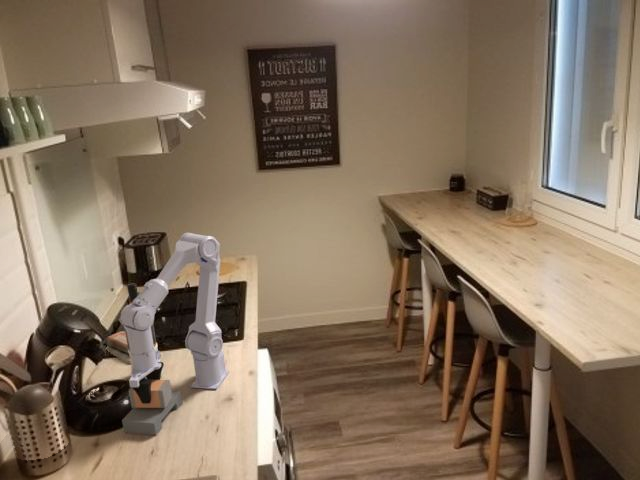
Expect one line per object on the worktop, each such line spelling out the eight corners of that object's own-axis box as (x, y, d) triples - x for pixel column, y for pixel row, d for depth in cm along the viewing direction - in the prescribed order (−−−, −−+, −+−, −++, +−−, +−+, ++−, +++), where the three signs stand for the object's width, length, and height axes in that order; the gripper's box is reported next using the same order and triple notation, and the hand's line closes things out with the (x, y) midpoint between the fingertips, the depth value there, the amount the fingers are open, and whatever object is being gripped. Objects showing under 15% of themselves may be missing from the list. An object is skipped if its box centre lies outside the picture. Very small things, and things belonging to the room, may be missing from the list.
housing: (131, 407, 135) (128, 390, 133) (139, 396, 139) (136, 379, 138) (165, 407, 134) (162, 390, 132) (172, 396, 138) (169, 379, 137)
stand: (153, 400, 145) (151, 389, 144) (182, 402, 143) (180, 391, 142) (124, 432, 132) (121, 420, 131) (156, 435, 130) (154, 423, 129)
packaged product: (99, 338, 175) (126, 326, 182) (102, 351, 176) (128, 339, 184) (129, 352, 164) (156, 339, 171) (131, 366, 165) (158, 353, 172)
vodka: (165, 380, 155) (149, 286, 146) (132, 388, 152) (114, 292, 143) (162, 366, 163) (147, 276, 154) (131, 373, 160) (114, 282, 151)
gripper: (145, 364, 125) (154, 413, 129) (168, 335, 138) (175, 380, 142) (117, 364, 125) (127, 413, 129) (142, 336, 139) (150, 381, 143)
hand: (150, 396), depth 136 cm, fingers closed on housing, 5 cm apart
